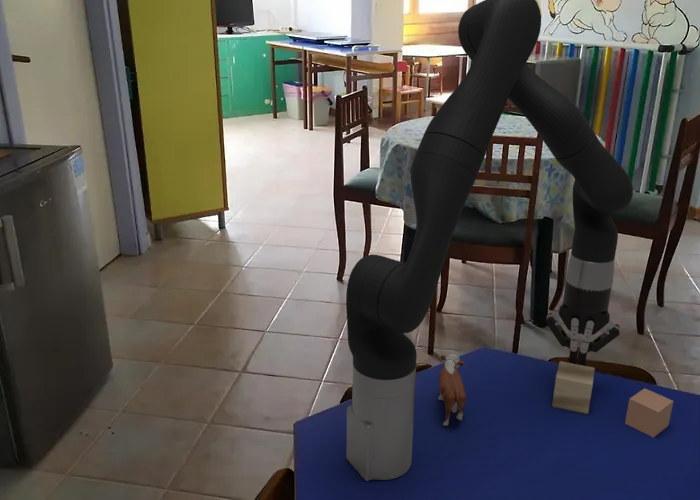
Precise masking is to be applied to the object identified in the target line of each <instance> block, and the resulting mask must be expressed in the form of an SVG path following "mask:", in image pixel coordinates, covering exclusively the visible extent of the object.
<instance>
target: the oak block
mask: <svg viewBox="0 0 700 500" xmlns="http://www.w3.org/2000/svg"><path fill="white" fill-rule="evenodd" d="M595 369H596V368H595V367H593V366H588V365H585V366H583V365H578V364H572V363H569V362H566V361H561V360H559V363H558V366H557V371H556V375H555V382H554V389H553V399H552V403H551V404H552V405H551V408H553V409H559V410H564V411H568V412H571V413H573V412H574V413H578V414H582V415H585V416H586V415H589V412H590V411H589V410H590V406H591V405H590V403H591V399H592V390H593V384H594V377H595Z"/></svg>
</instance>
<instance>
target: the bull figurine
mask: <svg viewBox="0 0 700 500" xmlns="http://www.w3.org/2000/svg"><path fill="white" fill-rule="evenodd" d="M440 359H441V360H442V361H444V363H443V365H442V369H441V370H440V373H439V376H438V381H439V382H438V391H439V393H440V395H439V396H438V400H439V401H443V403H444V405H445V415H444V416H445V420H444V421H443V424H442V425H443V426H445V427H448V426H449V423H450V422H449V420H450V417H451V412H452V413H457V414H456V417H455V418H456V419H457V420H458V421H462V419H463V416H464V413H463V408H464V406H465V405H466V401H467V394H466V388H465V386H464V385H465V384H464V383H463V379H462V375H461V373H460V372H459V370H458V368H459V367H460V366H461V367H463V366H464V365H465V362H464V361H463V360H461V359H460V356H458V355H457V354H454V353H450V354H449V355H448V356H447V355H444V354H441V355H440Z"/></svg>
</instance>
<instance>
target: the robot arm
mask: <svg viewBox="0 0 700 500" xmlns="http://www.w3.org/2000/svg"><path fill="white" fill-rule="evenodd" d="M541 12H542V11H541V9H540V6H539V3H538V2H537V0H482V1H480V2H478V3H476V4H474V5H473V6H470V7H469V8H468V9H466V10H465V12H464V13H463V14H462V16H461V18H460V19H459V24H458V27H457V28H458V29H457V34H458V39H459V42H460V43H459V44H460V46H461V47H462V49H463V51H464V53H465V54H466V55H467V57H468V58H469V59H470V60H471V62H472V64H471V65H470V67H469V69H468V71H467V72H466V74H465V76H464V77H463V79H462V80H461V81H460V83H459V84H458V85H457V87H455V89H454V90H453V91H452V92H451V94H450V95H449V96H448V98H447V99H446V100H445V101H444V102H443V103H442V105H441V106H440V108H439V109H438V110H437V111H436V113H435V114H434V115H433V117H432V119H431V120H430V122H429V123H428V125H427V127H426V129H425V131H424V134H423V135H422V137H421V140H420V143H419V145H418V147H417V149H416V152H415V155H414V157H413V159H412V162H411V166H410V184H411V185H410V186H411V192H412V198H413V202H414V203H413V204H414V209H415V210H414V211H415V216H416V230H415V235H414V238H413V241H412V242H413V243H412V245H411V249H410V251H409V254H408V257H407V259H406V261H405V262H403V261H400V260H396V259H393V258H391V257H390V258H389V257H386V256H384V255H380V254H369V255H366V256H363V257H362V258H360V259H359V260H358V261H357V262H356V264H355V265H354V266H353V268H352V269H351V271H350V274H349V278H348V280H347V286H346V295H345V298H346V299H345V305H346V307H345V308H346V327H347V330H346V331H347V345H348V348H349V351H350V353H351V355H352V395H351V396H352V397H351V398H352V399H351V401H352V404H351V405H350V406H347V407H346V460H347V461H348V462H349V464H350V465H351V466H352V467H353V468H354V469H355V470H356V472H358V473H359V475H360V476H361V477H362V478H363V479H364V481H366V482H370V481H372V480H380V481H387V480H388V481H389V480H394V479H397V478H400V477H402V476H403V475H405V474H406V473H407V472H408V471H409V470H410V468H411V465H412V458H413V457H412V456H413V434H414V414H415V412H414V411H415V395H416V394H415V393H416V392H415V391H416V373H417V371H416V370H417V356H418V355H417V348H416V346H415V344H414V343H413V341H412V340H411V339H410V338H409V337H408V336H407V335H406V334H409V333H411V332H414V331H415V330H416V329H418V327H419V326H420V325H421V324H422V322H423V321H424V319H425V317H426V316H427V313H428V312H429V309H430V308H431V305H432V302H433V299H434V296H435V294H436V293H435V292H436V290H437V288H438V284H439V280H440V278H441V275H442V270H443V269H444V265H445V261H446V258H447V254H448V251H449V248H450V245H451V242H452V239H453V236H454V232H455V230H456V227H457V225H458V222H459V220H460V217H461V215H462V212H463V209H464V207H465V205H466V201H467V200H468V197H469V195H470V193H471V190H472V189H473V186H474V184H475V182H476V180H477V177H478V175H479V171H480V169H481V167H482V165H483V162H484V159H485V156H486V154H487V152H488V148H489V146H490V143H491V140H492V138H493V136H494V133H495V130H496V129H497V126H498V123H499V122H500V118H501V117H502V115H503V111H504V109H505V107H506V104H507V101H508V100H509V101H510V102H511V103H512V104H513V105H514V107H516V109H518V110H519V112H520V113H521V114H522V115H523V116H524V117H525V119H526V120H527V121H528V122H529V124H531V126H532V127H533V128H534V130H535V131H536V132H537V134H538V135H539V137H540V138H541V140H542V142H543V143H544V144H545V146H547V148H548V150H549V151H550V153H551V154H552V156H553V157H554V159H555V160H556V161H557V162H558V163H559V165H561V167H562V168H564V169H565V170H566V171H567V172H568V173H570V174H571V175H572V177H573V178H574V182H573V187H572V211H573V213H572V214H573V221H574V222H573V223H574V232H573V236H572V237H573V238H572V244H571V252H570V257H569V259H568V264H567V268H566V273H565V285H564V292H563V299H562V303H561V305H560V306H559V308H558V311H556V312H554V313H552V312H550V313H548V314H547V315H546V318H545V323H546V325H547V327H548V328H549V329H550V331H551V332H552V334H553V336H554V337H555V339H556V340H557V341H558V343H559V344H560V345H559V346H561V347H563V348H564V347H566V348H568V349H569V355H568V363H572V364H578V365H583V366H586V362H587V361H586V360H587V354H588V353H589V352H591V353H592V352H593V353H597V352H599V351H600V350H602V349H603V348H604V347H605V346H606V345H608V344H609V343H610V342H612V341H613V340H615V339H616V338H617V337H619V336H620V332H621V331H620V329H621V326H620V325H619V324H617V323H614V322H613V321H612V320H611V319H610V316H611V315H610V313H609V306H610V299H611V292H612V289H613V288H612V287H613V283H614V275H615V259H616V258H615V257H616V254H617V253H616V251H617V248H618V239H619V231H618V228H617V226H616V224H615V223H614V221H613V218H612V214H617V213H620V212H622V211H623V210H625V209H626V208H627V207H628V206H629V205H630V204H631V202H632V199H633V196H634V187H633V183H632V180H631V177H630V176H629V175H628V173H627V172H626V171H625V169H624V168H623V166H622V165H621V164H620V163H619V162H618V160H616V158H615V157H614V156H613V155H612V154H611V153H610V152H609V150H607V149H606V148H605V146H604V145H603V144H602V142H601V141H600V140H599V138H598V136H597V134H596V132H595V130H593V128H592V126H591V124H590V123H589V121H588V120H587V118H586V117H585V116H584V114H583V113H582V111H581V110H580V109H579V108H578V106H577V105H576V104H575V103H574V102H573V101H572V100H571V99H570V98H568V97H567V96H566V95H565V94H564V93H562V92H560V91H559V90H558V89H557V88H555V87H554V86H552V85H551V84H549V83H548V82H547V81H546V80H545V79H543V78H541V77H540V76H539V75H538V74H537V73H536V72H535V71H534V70H533V69H532V68H531V67H530V66H529V65H528V60H530V57H531V55H532V53H533V51H534V49H535V48H536V46H537V42H538V40H539V38H540V34H541V27H542V14H541ZM561 320H562V322H563V324H564V325H565V327H566V329H567V330H568V331H569V332H570V337H569V335H568V334H567V333H566V330H565V329H564V328H563V326H562V325H561ZM603 328H604V332H603V333H601V334H599V335H598V336H597V337H596V338H595V339H594V340H592V341H591V338H592V336H593V335H595V334H597V333H598V332H600V331H601V330H602V329H603ZM580 335H582V338H581V342H580V346H579V339H580V338H579V336H580Z"/></svg>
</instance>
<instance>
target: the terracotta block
mask: <svg viewBox="0 0 700 500" xmlns="http://www.w3.org/2000/svg"><path fill="white" fill-rule="evenodd" d="M673 405H674V400H672V399H670V398H668V397H666V396H664V395H661V394H658V393H657V392H654V391H652V390H649V389H647V388H645V387H644V388H643V389H642V390H639V391H638V392H636V393H635V394H634V395H633V396H631V397H629V400H628V406H627V410H626V416H625V422H624V424H625V425H628V426H630V427H631V428H634V429H635V430H638V431H639V432H641V433H643V434H645V435H647V436H649V437H651V438H655V437H656V436H658V435H659V434H660V433H661V432H663V431H664V430H666V429H667V427H669V424H670V421H671V420H670V419H671V415H672V410H673Z"/></svg>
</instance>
